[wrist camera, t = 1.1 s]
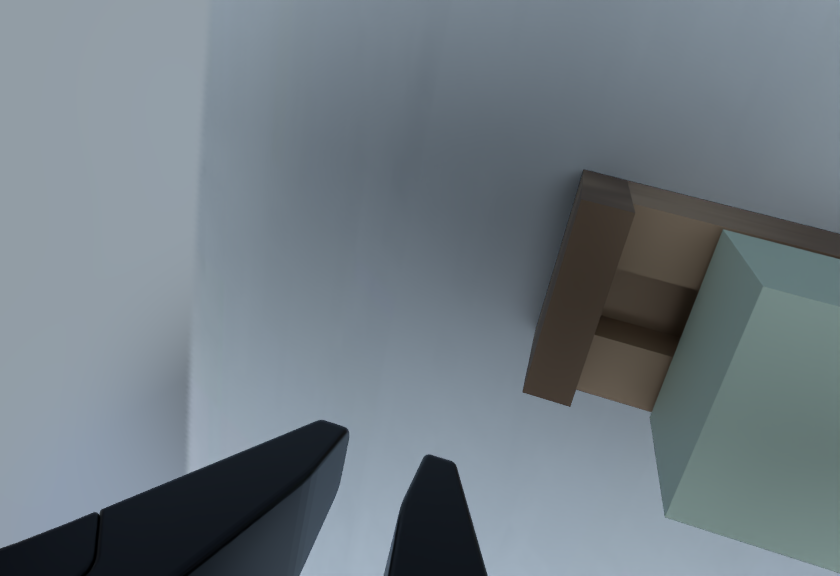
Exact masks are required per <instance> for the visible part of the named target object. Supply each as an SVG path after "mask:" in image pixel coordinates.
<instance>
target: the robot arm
mask: <svg viewBox="0 0 840 576" xmlns="http://www.w3.org/2000/svg"><path fill="white" fill-rule="evenodd" d="M348 441H349V431H348V429H347V428H346V427H343V426H340V425H337V424H334V423H331V422H328V421H325V420H318V421H315V422H313V423H310V424H308V425H306V426H303V427H301V428H298V429H296V430H293V431H291V432H289V433H286V434H284V435H281V436H279V437H276V438H274V439H272V440H269V441H267V442H264V443H262V444H259V445H257V446H255V447H252V448H250V449H247V450H245V451H242V452H240V453H238V454H235V455H233V456H230V457H228V458H225V459H223V460H220V461H218V462H216V463H213V464H211V465H208V466H206V467H203V468H201V469H199V470H196V471H194V472H191V473H189V474H186V475H184V476H182V477H179V478H177V479H174V480H172V481H170V482H167V483H165V484H162V485H160V486H158V487H155V488H152V489H150V490H148V491H145V492H143V493H140V494H138V495H136V496H133V497H131V498H128V499H126V500H123V501H121V502H118V503H116V504H113V505H111V506H109V507H106V508H104V509H102V510H101V511H100V515H99V514H98V513H96V512H94V513H91V514H89V515H86V516H84V517H81V518H79V519H76V520H74V521H72V522H69V523H67V524H64V525H62V526H59V527H57V528H54V529H51V530H49V531H46V532H44V533H41V534H38V535H36V536H33V537H31V538H28V539H26V540H23V541H20V542H18V543H15V544H12V545H9V546H6V547H3V548H1V549H0V576H299V575H300V573H301V571H302V569H303V567H304V564H305V562H306V560H307V558H308V556H309V553H310V551H311V549H312V547H313V545H314V542H315V540H316V538H317V536H318V534H319V531H320V529H321V527H322V525H323V523H324V520H325V518H326V516H327V514H328V512H329V509H330V507H331V505H332V503H333V501H334V498H335V496H336V493H337V491H338V488H339V484H340V481H341V476H342V471H343V466H344V461H345V456H346V451H347V446H348ZM384 576H488V575H487V572H486V568H485V565H484V561H483V558H482V554H481V551H480V547H479V544H478V540H477V537H476V533H475V530H474V526H473V523H472V519H471V516H470V512H469V508H468V505H467V501H466V498H465V494H464V491H463V487H462V484H461V480H460V477H459V473H458V470H457V467H456V464H455V463H454V462H452V461H449V460H446V459H443V458H440V457H436V456H433V455H425V456H424V458H423V459H422V462H421V464H420V466H419V468H418V470H417V472H416V474H415V476H414V478H413V480H412V482H411V484H410V487H409V489H408V491H407V493H406V495H405V497H404V499H403V502H402V504H401V507H400V511H399V515H398V519H397V523H396V527H395V531H394V535H393V539H392V544H391V548H390V552H389V556H388V560H387V564H386V568H385V572H384Z"/></svg>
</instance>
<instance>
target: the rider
mask: <svg viewBox="0 0 840 576" xmlns="http://www.w3.org/2000/svg"><path fill="white" fill-rule="evenodd" d="M650 422H651V429H652V435H653V442H654V449H655V455H656V462H657V469H658V475H659V482H660V489H661V495H662V502H663V509H664V515H665V518H669V519H672V520H675V521H678V522H681V523H684V524H687V525H690V526H694V527H697V528H700V529H703V530H706V531H709V532H712V533H715V534H719V535H722V536H725V537H728V538H731V539H734V540H737V541H740V542H744V543H747V544H750V545H753V546H756V547H759V548H762V549H765V550H769V551H772V552H775V553H778V554H781V555H784V556H787V557H790V558H794V559H797V560H800V561H803V562H806V563H809V564H812V565H816V566H819V567H822V568H825V569H828V570H831V571H834V572H837V573H840V259H837V258H833V257H829V256H825V255H821V254H817V253H813V252H810V251H806V250H802V249H798V248H794V247H790V246H786V245H782V244H778V243H775V242H771V241H767V240H763V239H759V238H755V237H751V236H747V235H743V234H739V233H736V232H732V231H728V230H724V229H723V230H722V233H721V236H720V238H719V241H718V243H717V246H716V248H715V251H714V254H713V256H712V259H711V261H710V264H709V266H708V269H707V272H706V274H705V277H704V279H703V282H702V284H701V287H700V290H699V292H698V295H697V297H696V300H695V302H694V305H693V307H692V310H691V313H690V315H689V318H688V320H687V323H686V325H685V328H684V331H683V333H682V336H681V338H680V341H679V343H678V346H677V349H676V351H675V354H674V356H673V359H672V361H671V364H670V367H669V369H668V372H667V374H666V377H665V379H664V382H663V384H662V387H661V390H660V392H659V395H658V397H657V400H656V402H655V405H654V408H653V410H652V413H651V415H650Z"/></svg>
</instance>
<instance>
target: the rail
mask: <svg viewBox="0 0 840 576" xmlns="http://www.w3.org/2000/svg"><path fill="white" fill-rule="evenodd" d="M723 229H724V230H728V231H732V232H736V233H739V234H743V235H747V236H751V237H755V238H759V239H763V240H767V241H771V242H775V243H778V244H782V245H786V246H790V247H794V248H798V249H802V250H806V251H810V252H813V253H817V254H821V255H825V256H829V257H833V258H837V259H840V234H838V233H834V232H830V231H826V230H822V229H818V228H814V227H810V226H806V225H802V224H798V223H794V222H790V221H786V220H782V219H778V218H774V217H770V216H766V215H762V214H758V213H754V212H751V211H747V210H743V209H739V208H735V207H731V206H727V205H723V204H719V203H715V202H711V201H707V200H703V199H699V198H695V197H691V196H687V195H683V194H679V193H675V192H671V191H667V190H663V189H659V188H655V187H651V186H647V185H643V184H639V183H635V182H631V181H627V180H623V179H619V178H615V177H611V176H607V175H604V174H600V173H596V172H592V171H588V170H583V173H582V177H581V180H580V183H579V187H578V190H577V193H576V197H575V200H574V203H573V207H572V210H571V213H570V217H569V220H568V223H567V227H566V230H565V233H564V237H563V240H562V243H561V247H560V250H559V253H558V257H557V260H556V263H555V267H554V270H553V273H552V277H551V280H550V283H549V287H548V290H547V293H546V297H545V300H544V303H543V307H542V310H541V313H540V317H539V320H538V323H537V327H536V330H535V334H534V339H533V344H532V349H531V354H530V358H529V363H528V368H527V373H526V378H525V383H524V387H523V393H527V394H530V395H533V396H536V397H540V398H543V399H546V400H550V401H553V402H556V403H560V404H563V405H566V406H569V407H570V406H571V403H572V400H573V397H574V394H575V391H576V390H579V391H583V392H586V393H589V394H593V395H596V396H599V397H603V398H606V399H609V400H613V401H616V402H619V403H623V404H626V405H629V406H633V407H636V408H639V409H643V410H646V411H650V412H652V410H653V408H654V405H655V402H656V400H657V397H658V395H659V392H660V390H661V387H662V384H663V382H664V379H665V377H666V374H667V372H668V369H669V367H670V364H671V361H672V359H673V356H674V354H675V351H676V349H677V346H678V343H679V341H680V338H681V336H682V333H683V331H684V328H685V325H686V323H687V320H688V318H689V315H690V313H691V310H692V307H693V305H694V302H695V300H696V297H697V295H698V292H699V290H700V287H701V284H702V282H703V279H704V277H705V274H706V272H707V269H708V266H709V264H710V261H711V259H712V256H713V254H714V251H715V248H716V246H717V243H718V241H719V238H720V236H721V233H722V230H723Z"/></svg>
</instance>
